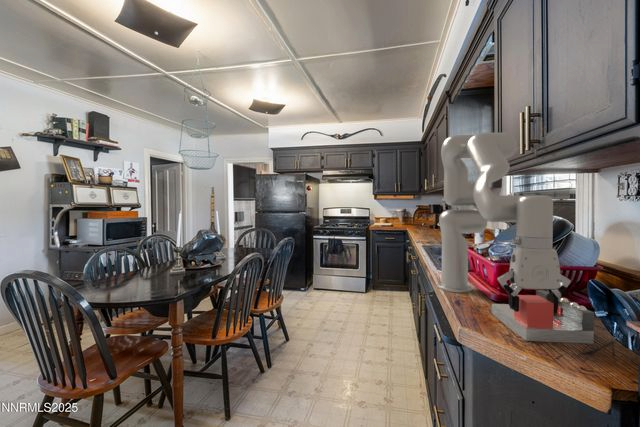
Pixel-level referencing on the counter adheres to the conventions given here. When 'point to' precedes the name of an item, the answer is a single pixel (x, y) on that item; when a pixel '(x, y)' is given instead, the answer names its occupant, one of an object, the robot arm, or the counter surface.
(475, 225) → the robot arm
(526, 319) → the matte red cuboid
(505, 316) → the grey slider control panel
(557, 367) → the counter surface
